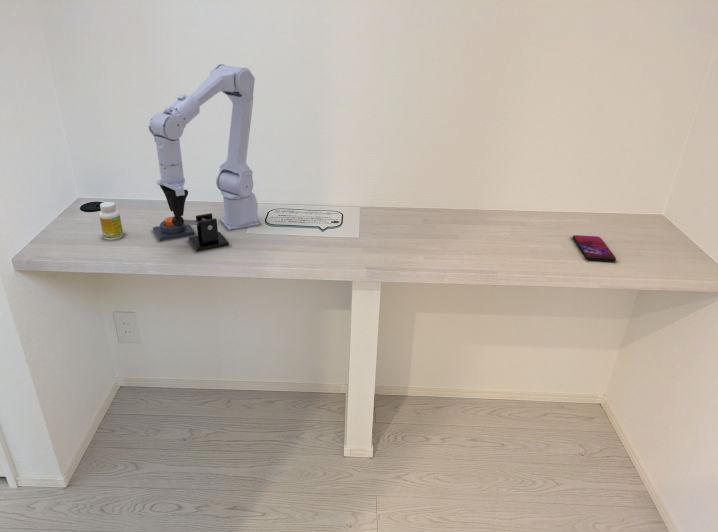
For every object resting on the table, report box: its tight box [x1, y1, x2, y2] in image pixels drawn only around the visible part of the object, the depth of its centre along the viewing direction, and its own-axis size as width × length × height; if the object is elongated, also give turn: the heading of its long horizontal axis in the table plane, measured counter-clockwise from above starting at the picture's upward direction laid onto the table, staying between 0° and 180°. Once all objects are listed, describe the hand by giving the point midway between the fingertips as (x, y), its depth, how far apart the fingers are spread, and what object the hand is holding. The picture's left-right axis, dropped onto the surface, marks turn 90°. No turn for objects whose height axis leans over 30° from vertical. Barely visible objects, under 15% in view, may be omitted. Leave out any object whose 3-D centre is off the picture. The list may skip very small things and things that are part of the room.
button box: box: [152, 220, 195, 242], centre depth 165 cm, size 10×8×3 cm
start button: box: [164, 216, 175, 227], centre depth 164 cm, size 4×4×2 cm
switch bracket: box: [188, 212, 230, 253], centre depth 158 cm, size 9×8×8 cm
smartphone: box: [572, 234, 617, 262], centre depth 159 cm, size 8×1×15 cm
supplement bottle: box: [98, 201, 124, 241], centre depth 161 cm, size 5×5×10 cm
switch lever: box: [172, 215, 210, 227], centre depth 155 cm, size 11×3×3 cm, turn 117°
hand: (176, 213), depth 152 cm, fingers open, 4 cm apart
